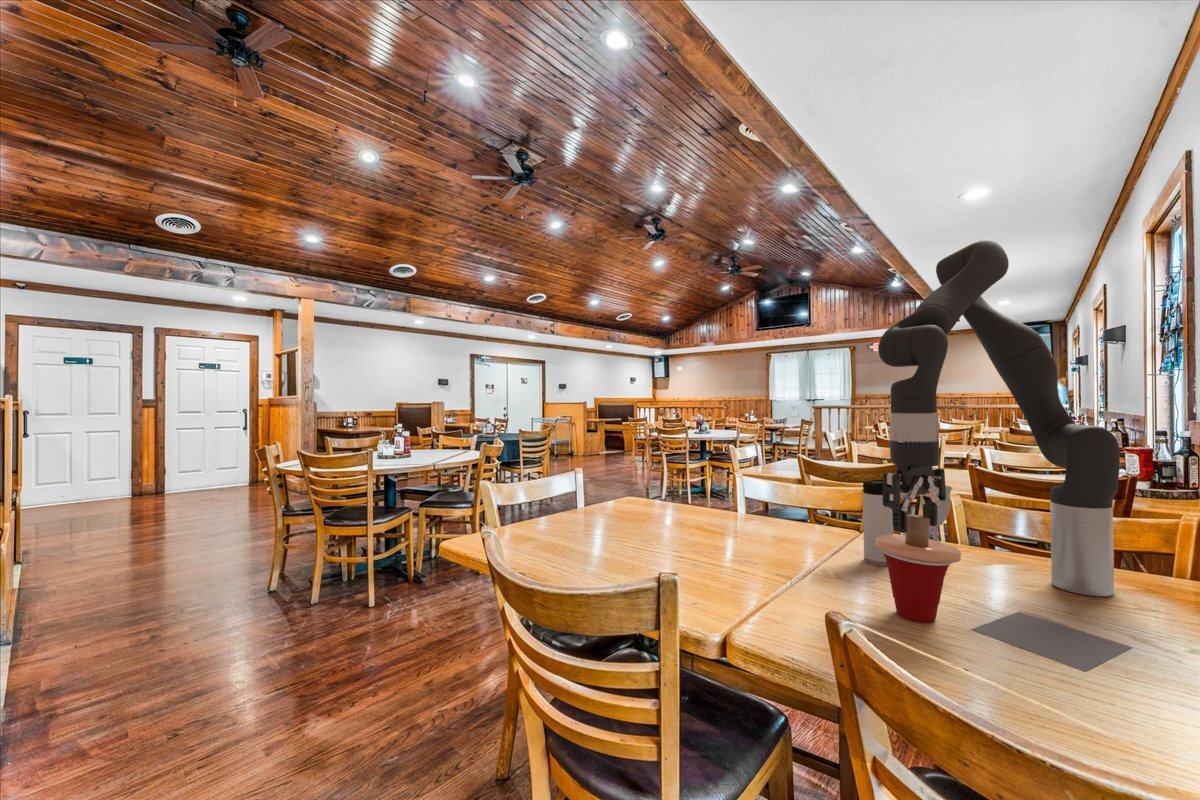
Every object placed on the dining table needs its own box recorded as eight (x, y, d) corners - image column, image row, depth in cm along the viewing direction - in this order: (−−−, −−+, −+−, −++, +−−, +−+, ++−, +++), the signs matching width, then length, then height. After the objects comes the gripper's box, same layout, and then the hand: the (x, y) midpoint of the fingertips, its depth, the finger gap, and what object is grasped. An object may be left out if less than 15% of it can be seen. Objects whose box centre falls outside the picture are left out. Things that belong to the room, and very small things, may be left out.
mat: (1019, 613, 92) (1019, 611, 92) (1133, 649, 79) (1132, 647, 79) (970, 631, 86) (970, 629, 86) (1085, 674, 72) (1085, 671, 72)
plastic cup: (969, 630, 86) (968, 559, 86) (908, 633, 86) (907, 562, 86) (924, 604, 97) (923, 541, 97) (870, 607, 97) (868, 543, 97)
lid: (903, 539, 100) (905, 507, 100) (976, 559, 89) (978, 523, 89) (859, 544, 94) (861, 510, 94) (931, 566, 83) (933, 528, 83)
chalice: (961, 566, 118) (959, 488, 118) (931, 567, 118) (930, 489, 118) (940, 556, 125) (939, 483, 125) (912, 557, 125) (911, 484, 125)
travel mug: (894, 568, 117) (893, 481, 117) (862, 564, 121) (861, 479, 121) (895, 560, 123) (894, 478, 123) (865, 556, 126) (863, 476, 126)
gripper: (918, 435, 98) (919, 519, 98) (868, 438, 92) (869, 528, 92) (959, 437, 91) (961, 528, 91) (908, 441, 85) (910, 538, 85)
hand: (915, 528), depth 91 cm, fingers open, 8 cm apart
